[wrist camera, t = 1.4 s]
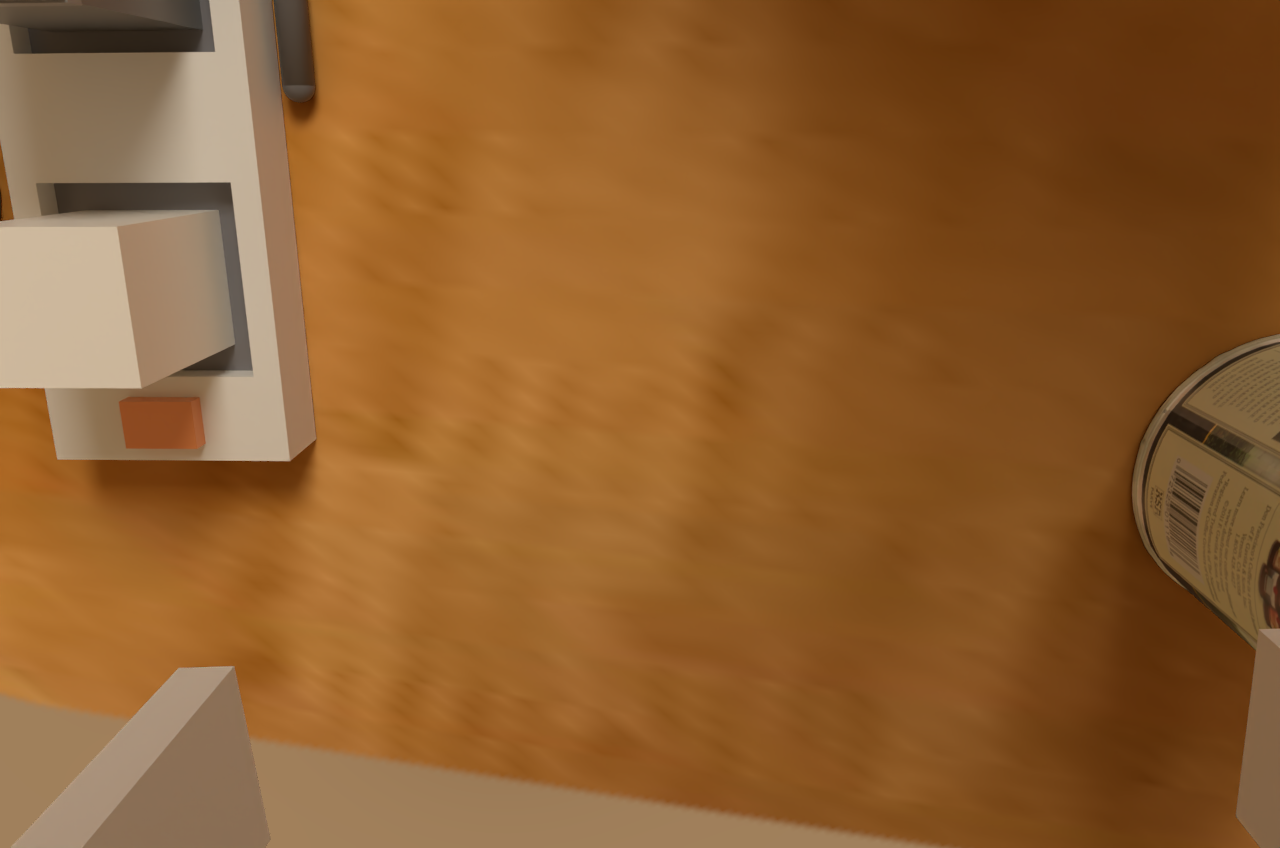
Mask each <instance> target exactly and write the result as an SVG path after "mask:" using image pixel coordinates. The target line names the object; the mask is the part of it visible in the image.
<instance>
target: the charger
mask: <svg viewBox="0 0 1280 848" xmlns="http://www.w3.org/2000/svg"><path fill="white" fill-rule="evenodd" d="M0 24H6V25H12V26H18V27H24V28H30V29H37V30H43V31H49V32H71V31H164V30H203V25H202V16H201V8H200V0H0Z"/></svg>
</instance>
